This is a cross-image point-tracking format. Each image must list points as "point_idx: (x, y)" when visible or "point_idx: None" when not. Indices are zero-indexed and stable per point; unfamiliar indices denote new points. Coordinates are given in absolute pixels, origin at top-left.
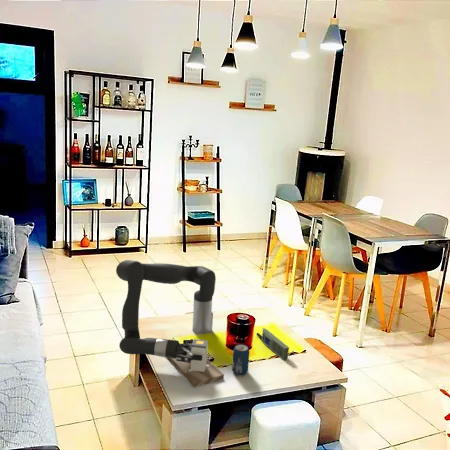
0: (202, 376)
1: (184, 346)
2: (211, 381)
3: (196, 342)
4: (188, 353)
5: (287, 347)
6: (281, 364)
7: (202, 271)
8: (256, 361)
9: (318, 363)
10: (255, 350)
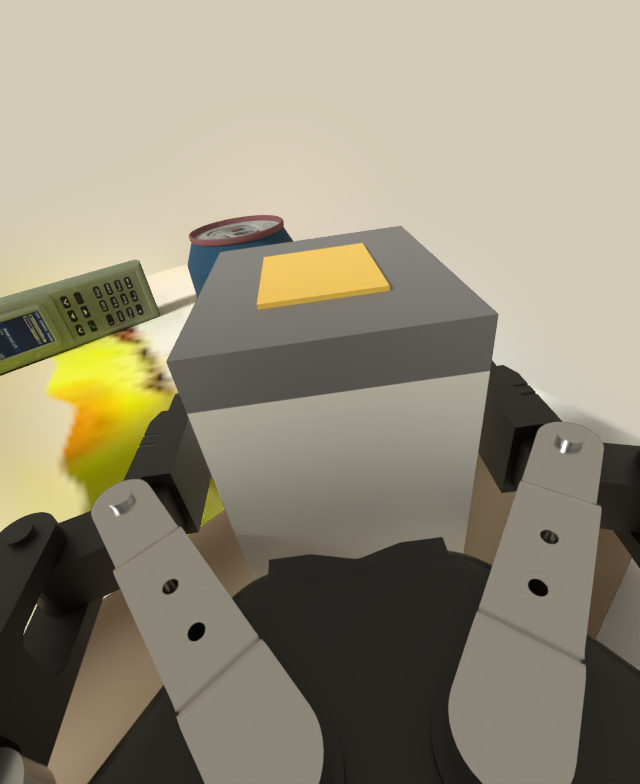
0: (479, 505)
1: (318, 730)
2: None
3: (343, 289)
4: (580, 500)
5: (133, 260)
6: (188, 314)
7: None
8: (163, 364)
9: (179, 274)
10: (54, 385)
